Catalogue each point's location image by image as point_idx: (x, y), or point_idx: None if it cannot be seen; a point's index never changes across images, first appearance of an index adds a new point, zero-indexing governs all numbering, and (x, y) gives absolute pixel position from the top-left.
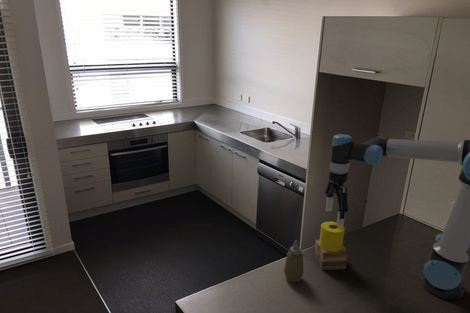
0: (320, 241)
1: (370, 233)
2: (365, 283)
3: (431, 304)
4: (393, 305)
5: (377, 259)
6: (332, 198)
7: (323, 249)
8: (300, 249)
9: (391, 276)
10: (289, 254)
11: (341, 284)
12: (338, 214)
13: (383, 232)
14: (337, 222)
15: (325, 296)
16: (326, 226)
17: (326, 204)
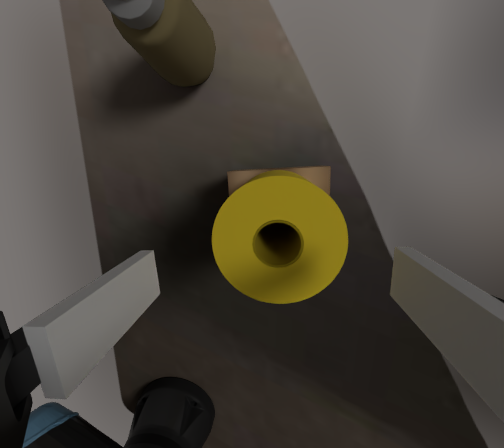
0: (273, 171)
1: (428, 384)
2: (183, 266)
3: (126, 361)
4: None
5: (286, 339)
6: (494, 402)
7: (251, 178)
8: (122, 11)
9: (213, 336)
10: None
11: (175, 205)
12: (69, 297)
13: (426, 418)
14: (132, 258)
15: (123, 145)
16: (283, 207)
17: (446, 275)
